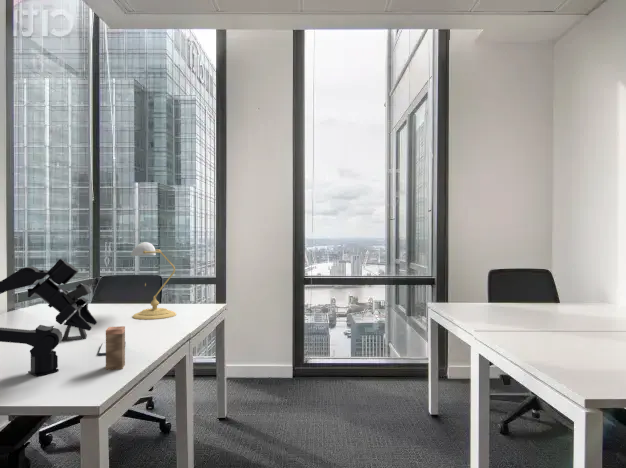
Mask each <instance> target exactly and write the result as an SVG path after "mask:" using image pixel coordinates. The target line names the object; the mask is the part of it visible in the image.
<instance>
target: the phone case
mask: <svg viewBox="0 0 626 468" xmlns="http://www.w3.org/2000/svg"><path fill="white" fill-rule="evenodd" d="M100 344H101V345H100V347H99V350H98V353H97V356H99V357H104V356H105V357H106V342H102V343H100ZM125 345H126V342H125Z"/></svg>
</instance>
